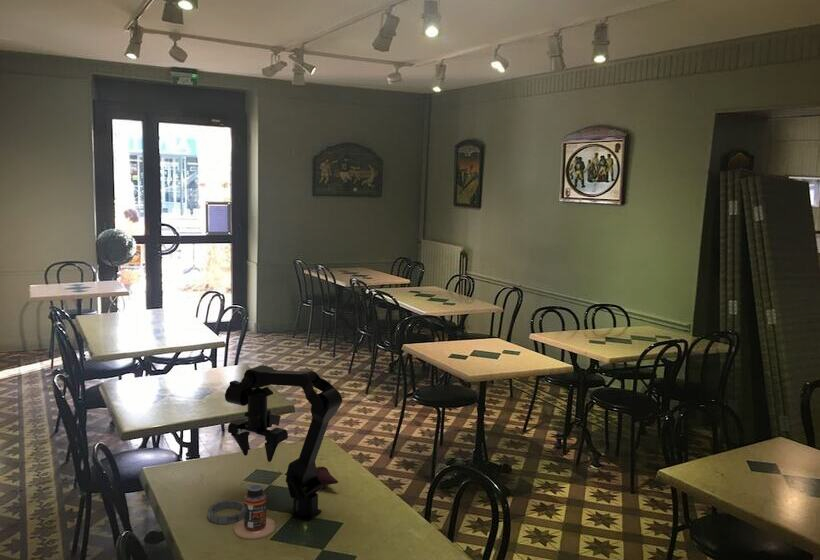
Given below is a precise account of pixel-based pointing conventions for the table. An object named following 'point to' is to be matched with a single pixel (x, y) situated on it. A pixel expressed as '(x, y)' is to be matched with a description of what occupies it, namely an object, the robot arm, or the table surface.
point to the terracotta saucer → (258, 534)
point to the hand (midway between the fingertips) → (257, 458)
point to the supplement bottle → (255, 508)
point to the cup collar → (223, 505)
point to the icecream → (325, 476)
